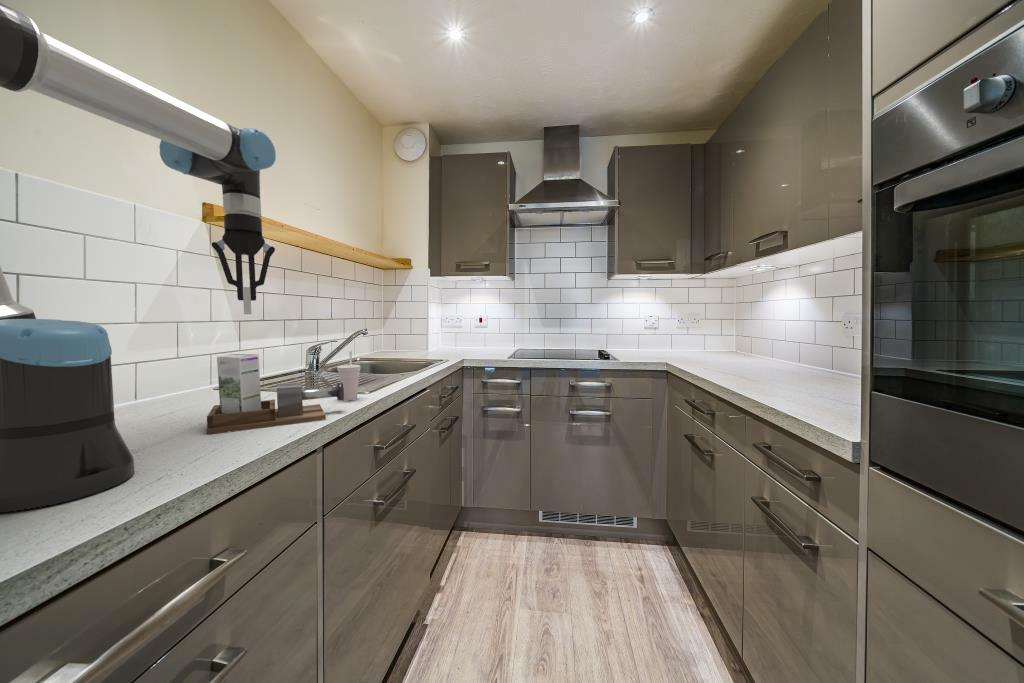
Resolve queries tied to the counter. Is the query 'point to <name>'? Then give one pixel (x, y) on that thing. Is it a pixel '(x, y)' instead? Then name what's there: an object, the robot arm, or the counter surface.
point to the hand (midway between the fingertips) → (247, 314)
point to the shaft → (324, 393)
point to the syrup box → (239, 383)
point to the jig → (267, 412)
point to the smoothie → (349, 379)
